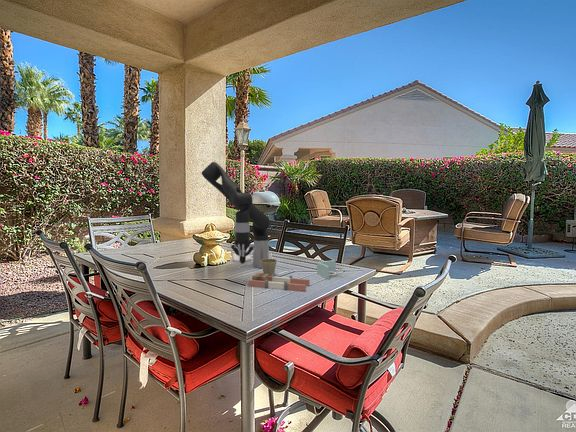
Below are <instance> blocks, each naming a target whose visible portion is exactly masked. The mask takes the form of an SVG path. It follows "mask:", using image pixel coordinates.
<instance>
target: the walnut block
mask: <svg viewBox="0 0 576 432" xmlns="http://www.w3.org/2000/svg"><path fill="white" fill-rule="evenodd" d="M251 277H252V278H251V280H258V281H265V280H268V281H269V274H263V272H262V273H261V272H256V273H255V274H253V275H252V276H251Z"/></svg>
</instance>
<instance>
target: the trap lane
mask: <svg viewBox="0 0 576 432" xmlns="http://www.w3.org/2000/svg"><path fill="white" fill-rule="evenodd" d="M247 283H248V285H247V286H248V287H252V286H253V287H254V288H264V289H276V290H284V291H294V292H295V291H296V292H306V291H307V286H308V287H310V286H311V285H310V279H309V278H308V279H306V278H293V275H289V277H283V276H275V273H274V274H272V275H271V276H269V281H268V280H265V281H258V280H252V279H248V280H247Z"/></svg>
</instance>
